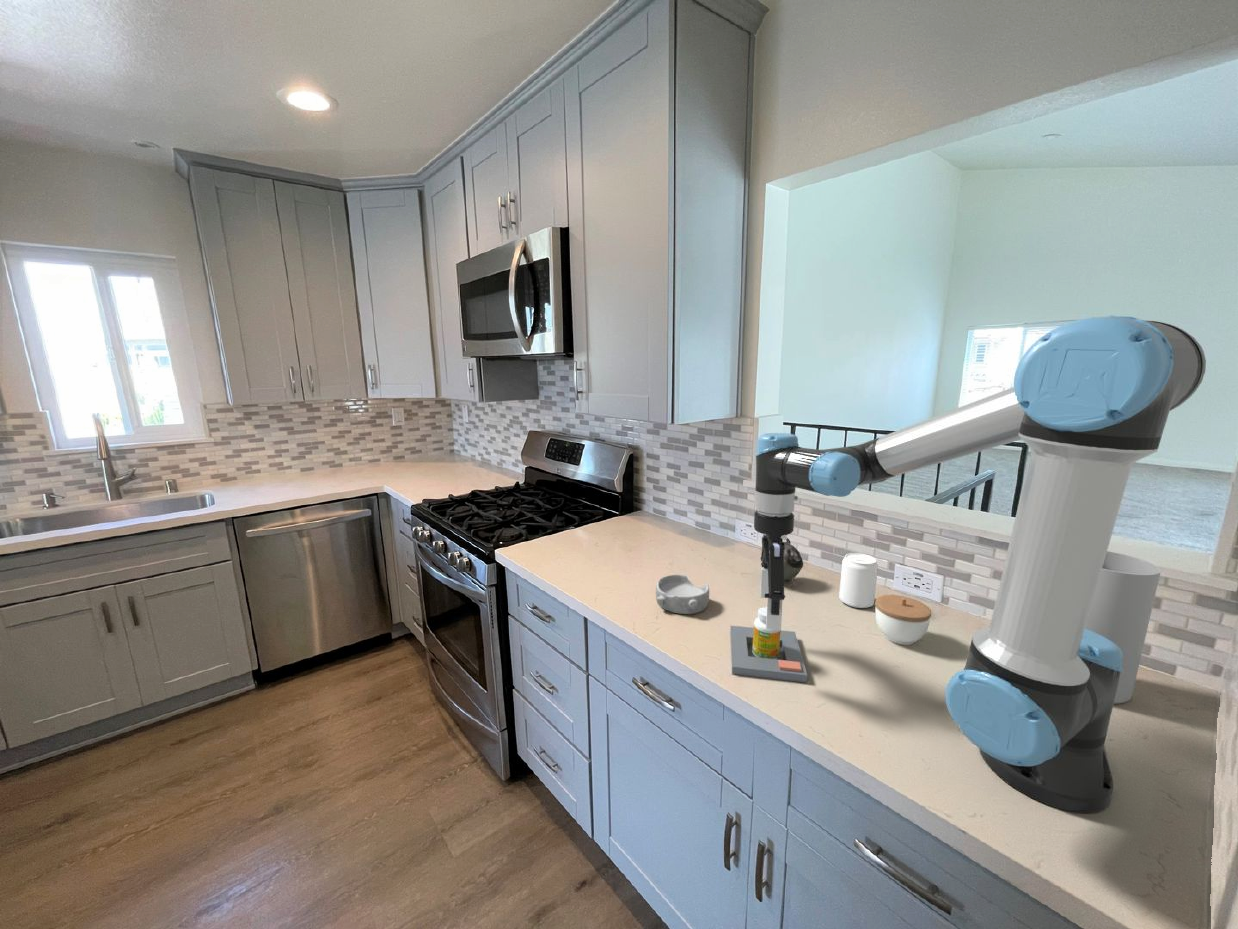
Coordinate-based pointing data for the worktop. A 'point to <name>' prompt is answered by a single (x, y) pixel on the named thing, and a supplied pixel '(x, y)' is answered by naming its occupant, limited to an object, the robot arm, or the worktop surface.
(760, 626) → the supplement bottle
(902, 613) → the lidded jar
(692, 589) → the dish
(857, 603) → the beverage can
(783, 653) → the socket plate
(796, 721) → the worktop surface
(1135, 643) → the cylinder vase
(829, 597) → the worktop surface
